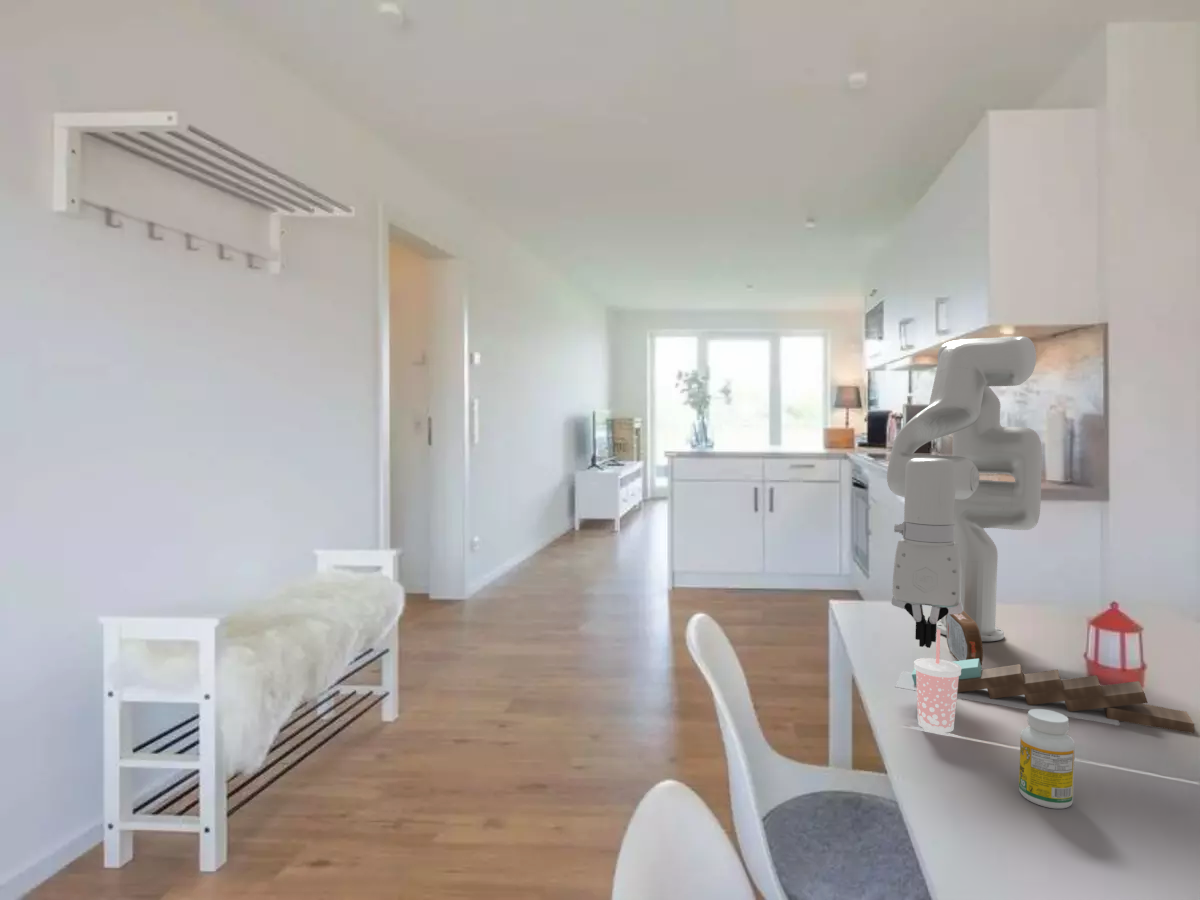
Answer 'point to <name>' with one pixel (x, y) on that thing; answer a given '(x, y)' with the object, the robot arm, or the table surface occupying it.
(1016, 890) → the table surface
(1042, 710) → the supplement bottle
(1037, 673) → the domino
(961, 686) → the domino
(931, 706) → the beverage cup
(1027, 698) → the domino
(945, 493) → the robot arm
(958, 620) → the tin
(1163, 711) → the domino
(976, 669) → the domino
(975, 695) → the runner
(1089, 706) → the domino
